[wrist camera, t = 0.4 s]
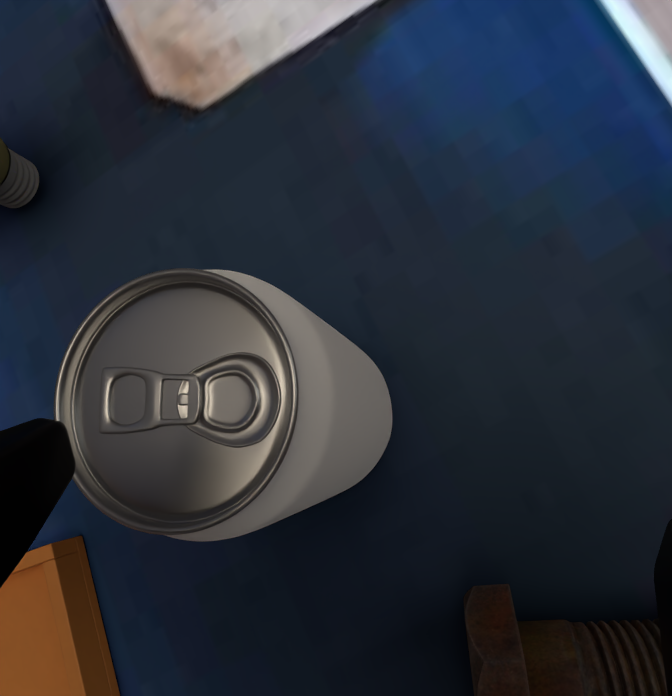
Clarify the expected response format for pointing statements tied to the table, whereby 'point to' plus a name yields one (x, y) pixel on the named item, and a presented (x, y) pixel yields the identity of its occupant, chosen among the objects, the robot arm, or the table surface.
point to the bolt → (558, 652)
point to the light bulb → (16, 178)
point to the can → (215, 405)
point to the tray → (53, 627)
